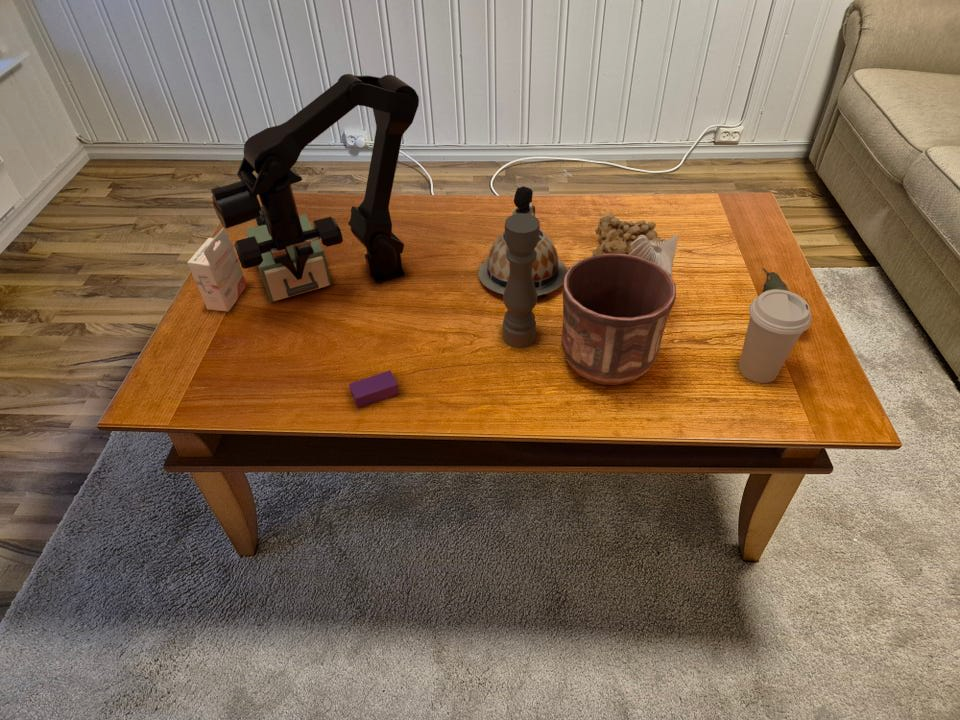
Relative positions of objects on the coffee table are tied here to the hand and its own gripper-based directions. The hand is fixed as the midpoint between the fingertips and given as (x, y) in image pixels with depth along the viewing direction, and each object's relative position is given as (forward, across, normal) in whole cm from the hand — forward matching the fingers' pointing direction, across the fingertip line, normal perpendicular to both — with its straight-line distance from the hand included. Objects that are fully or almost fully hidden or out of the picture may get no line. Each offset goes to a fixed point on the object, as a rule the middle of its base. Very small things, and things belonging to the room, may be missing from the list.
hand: (299, 278), depth 127 cm
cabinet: (+6, 0, -11) cm, 13 cm away
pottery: (+7, -45, +40) cm, 61 cm away
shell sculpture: (+7, -59, +31) cm, 67 cm away
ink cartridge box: (+7, +14, -9) cm, 18 cm away
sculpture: (+7, -83, +42) cm, 93 cm away
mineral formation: (+7, -66, +15) cm, 68 cm away
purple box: (+6, -5, +29) cm, 30 cm away
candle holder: (+7, -34, +27) cm, 44 cm away
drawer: (+6, 0, -7) cm, 9 cm away
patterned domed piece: (+7, -43, +11) cm, 45 cm away
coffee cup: (+7, -68, +53) cm, 87 cm away
